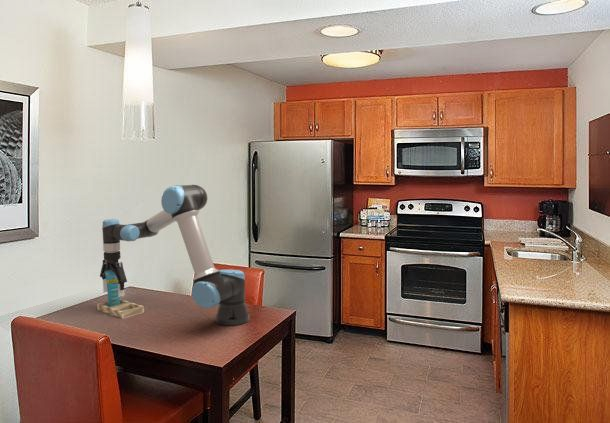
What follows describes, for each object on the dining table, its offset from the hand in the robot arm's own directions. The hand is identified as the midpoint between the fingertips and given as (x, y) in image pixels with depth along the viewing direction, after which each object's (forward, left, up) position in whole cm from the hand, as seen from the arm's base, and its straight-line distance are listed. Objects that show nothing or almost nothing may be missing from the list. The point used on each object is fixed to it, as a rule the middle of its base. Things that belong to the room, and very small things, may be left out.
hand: (113, 294), depth 229 cm
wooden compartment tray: (-5, 0, -8) cm, 9 cm away
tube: (0, 0, -7) cm, 7 cm away
